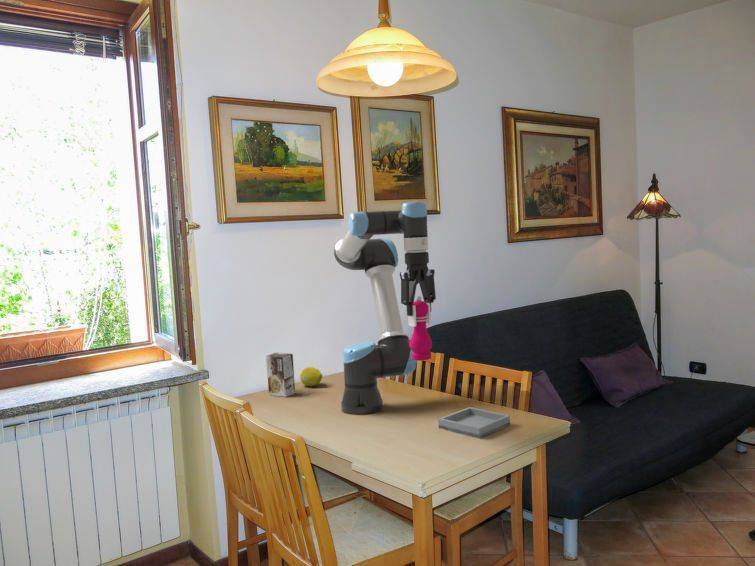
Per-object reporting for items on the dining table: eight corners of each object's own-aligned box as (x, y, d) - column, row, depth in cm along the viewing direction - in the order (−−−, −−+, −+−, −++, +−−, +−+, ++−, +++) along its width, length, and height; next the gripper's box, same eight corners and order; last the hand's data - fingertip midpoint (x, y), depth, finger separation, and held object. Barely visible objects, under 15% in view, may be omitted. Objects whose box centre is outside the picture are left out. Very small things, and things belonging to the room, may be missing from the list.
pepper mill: (431, 360, 193) (428, 296, 192) (408, 360, 195) (405, 297, 194) (434, 356, 200) (431, 294, 199) (412, 356, 202) (409, 295, 201)
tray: (438, 427, 198) (438, 418, 197) (469, 415, 209) (469, 406, 208) (479, 438, 186) (479, 428, 186) (510, 424, 197) (509, 415, 197)
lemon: (296, 386, 261) (295, 367, 260) (311, 382, 266) (310, 364, 265) (311, 390, 253) (310, 371, 252) (327, 386, 258) (325, 367, 257)
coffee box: (296, 393, 249) (293, 353, 248) (285, 397, 244) (282, 356, 242) (278, 391, 254) (276, 352, 253) (268, 395, 249) (265, 355, 247)
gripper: (403, 253, 186) (407, 329, 188) (445, 249, 199) (448, 321, 200) (386, 253, 192) (390, 327, 193) (428, 250, 204) (431, 319, 206)
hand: (419, 324), depth 197 cm, fingers closed on pepper mill, 6 cm apart
